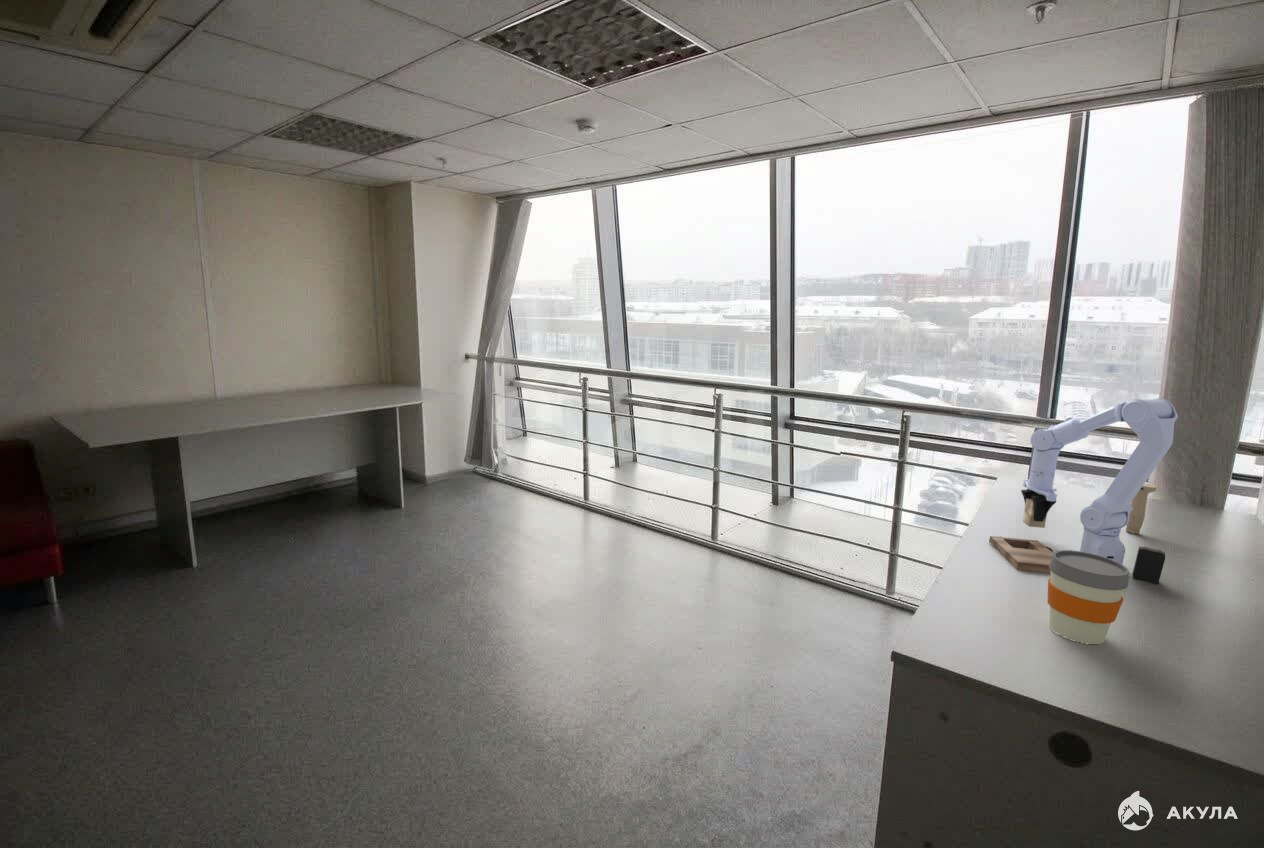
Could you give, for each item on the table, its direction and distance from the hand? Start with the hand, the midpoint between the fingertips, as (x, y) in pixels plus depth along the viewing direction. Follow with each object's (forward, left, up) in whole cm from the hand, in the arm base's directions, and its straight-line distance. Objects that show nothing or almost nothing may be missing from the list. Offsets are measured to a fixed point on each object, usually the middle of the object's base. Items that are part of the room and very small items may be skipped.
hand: (1034, 518), depth 172 cm
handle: (+15, -34, -6) cm, 38 cm away
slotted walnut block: (-16, +8, -6) cm, 19 cm away
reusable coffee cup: (-56, +15, -6) cm, 58 cm away
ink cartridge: (-23, -16, -6) cm, 29 cm away
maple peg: (0, 0, -2) cm, 2 cm away
